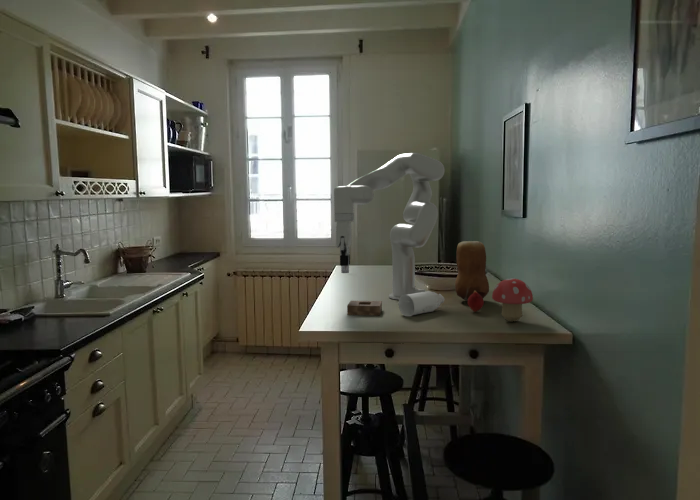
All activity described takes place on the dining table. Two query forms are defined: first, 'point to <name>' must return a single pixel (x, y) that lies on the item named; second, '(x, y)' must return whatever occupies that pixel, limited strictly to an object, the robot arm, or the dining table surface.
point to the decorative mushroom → (512, 297)
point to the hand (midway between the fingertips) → (345, 264)
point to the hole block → (364, 308)
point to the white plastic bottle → (419, 303)
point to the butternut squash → (471, 270)
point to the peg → (345, 268)
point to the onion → (475, 301)
